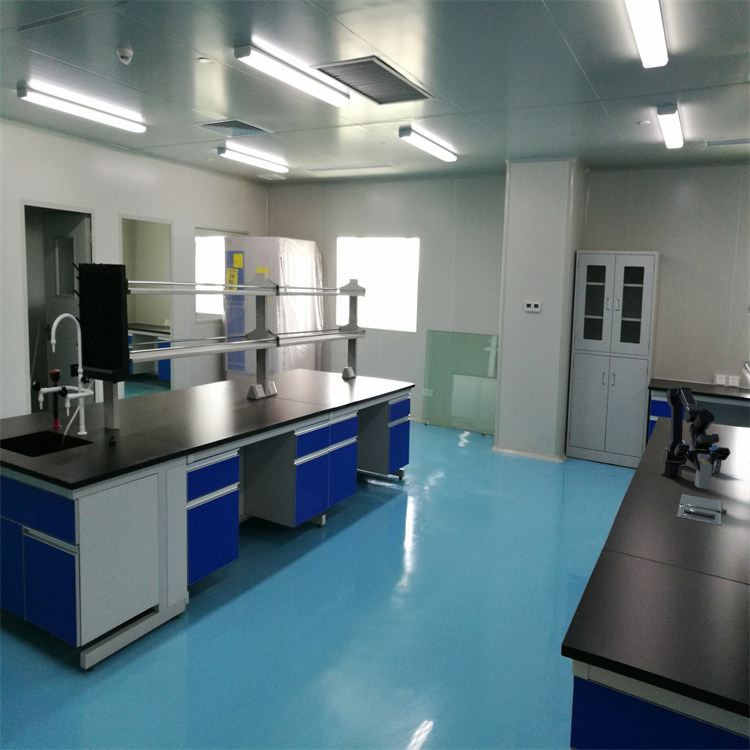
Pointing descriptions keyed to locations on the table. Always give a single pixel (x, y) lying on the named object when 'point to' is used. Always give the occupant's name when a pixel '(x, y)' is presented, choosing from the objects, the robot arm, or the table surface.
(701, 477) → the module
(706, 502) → the case
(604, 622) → the table surface
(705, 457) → the label tape cartridge
